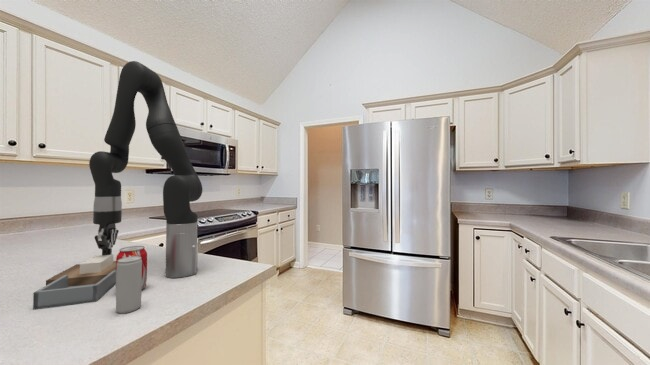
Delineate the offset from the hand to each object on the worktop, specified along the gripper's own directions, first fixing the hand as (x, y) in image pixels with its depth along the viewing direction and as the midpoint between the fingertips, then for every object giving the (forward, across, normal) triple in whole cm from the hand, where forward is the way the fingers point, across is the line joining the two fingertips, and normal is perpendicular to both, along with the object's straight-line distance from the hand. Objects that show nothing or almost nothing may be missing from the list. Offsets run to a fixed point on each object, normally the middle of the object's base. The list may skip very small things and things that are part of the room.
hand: (106, 259), depth 89 cm
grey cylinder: (+4, -36, -17) cm, 40 cm away
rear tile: (+1, -4, 0) cm, 5 cm away
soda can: (+4, -23, -14) cm, 27 cm away
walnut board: (+4, -7, 0) cm, 8 cm away
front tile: (+1, -9, 0) cm, 9 cm away
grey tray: (+4, -22, -2) cm, 22 cm away
